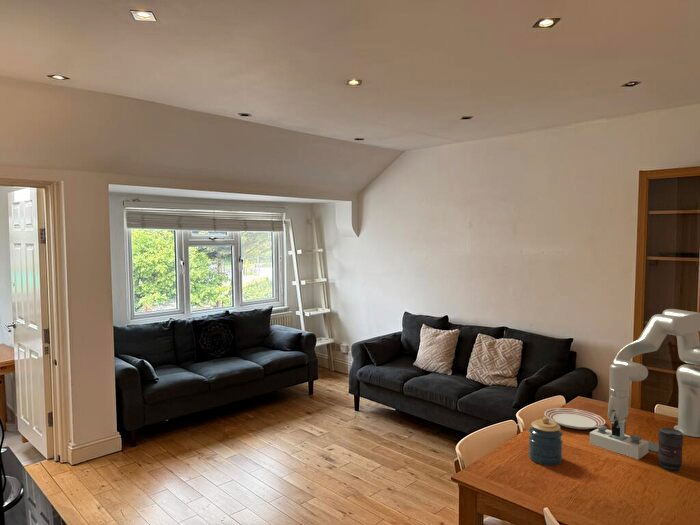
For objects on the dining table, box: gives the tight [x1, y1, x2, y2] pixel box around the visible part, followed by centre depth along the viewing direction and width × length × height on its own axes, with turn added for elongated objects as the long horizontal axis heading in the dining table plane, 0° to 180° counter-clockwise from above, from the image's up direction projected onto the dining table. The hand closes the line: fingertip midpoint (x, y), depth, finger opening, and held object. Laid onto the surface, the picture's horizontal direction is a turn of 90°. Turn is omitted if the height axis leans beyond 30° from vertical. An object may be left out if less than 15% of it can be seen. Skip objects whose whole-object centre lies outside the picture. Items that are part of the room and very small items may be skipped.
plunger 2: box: [629, 434, 642, 444], centre depth 204 cm, size 4×4×6 cm
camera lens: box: [657, 427, 684, 473], centre depth 191 cm, size 8×8×15 cm
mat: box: [644, 439, 659, 454], centre depth 211 cm, size 9×9×1 cm
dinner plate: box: [544, 407, 606, 430], centre depth 240 cm, size 28×27×3 cm
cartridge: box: [612, 418, 626, 441], centre depth 210 cm, size 5×5×13 cm
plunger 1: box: [596, 424, 608, 434], centre depth 216 cm, size 4×4×6 cm
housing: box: [588, 428, 649, 460], centre depth 210 cm, size 20×10×5 cm, turn 37°
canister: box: [528, 416, 564, 466], centre depth 200 cm, size 13×13×18 cm
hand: (618, 433), depth 210 cm, fingers closed on cartridge, 4 cm apart
